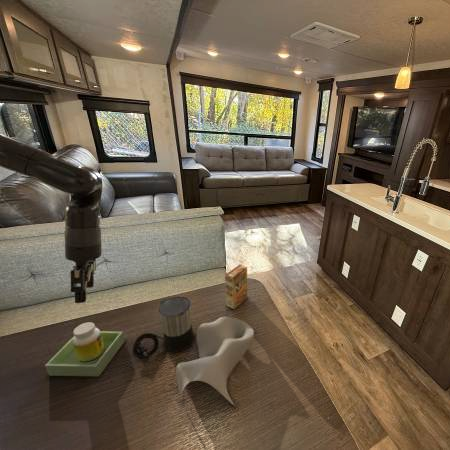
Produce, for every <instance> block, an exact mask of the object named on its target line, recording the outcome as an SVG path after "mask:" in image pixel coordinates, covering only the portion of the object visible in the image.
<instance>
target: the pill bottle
mask: <svg viewBox="0 0 450 450" xmlns="http://www.w3.org/2000/svg"><path fill="white" fill-rule="evenodd" d="M100 331H101V330H100V329H99V328H98V327H96V325H95V323H94V322H93V321H92V322H91V321H89V322H83V323H81V324H79V325H77V326H76V327H75V328H74V329H73V337H74V338H73V337H72V338H73V344H74V347H75V350H76V353H77V355H78V358H79V361H80V362H81V363H82V364H90V363H93V362H95V361H97V360H99V359H100V358H101V356H102V355H103V354H104V353H105V346H104V343H103V339H102V336H101V332H100Z"/></svg>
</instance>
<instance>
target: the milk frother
mask: <svg viewBox="0 0 450 450" xmlns="http://www.w3.org/2000/svg"><path fill="white" fill-rule="evenodd" d="M191 305H192V302H191V300H190V299H189V298H188V297H185V296H178V295H177V296H172V297H171V296H168V297H165V298H163V299H162V300H160V305H159V306H158V308H157V312H158V314H159V316H160V323H161V327H162V333H163V336H160V335H157V334H155V333H151V332H146V333H143V334H141V335H139V336H138V337H137V338H136V339H135V341H134V342H133V344H132V354H133V356H134V357H135V358H138V359H146V358H148V357H150V356H152V355H154V354H155V353H156V351H158V349H159V344H160V342H159V339H161V340H163V346H164V348H165V349H166V350H167V351H169V352H180V351H183V350H185V349H187V348H188V347H189V346H191V344H192V343H193V341H194V339H195V334H194V330H193V321H192V309H191ZM158 338H159V339H158ZM145 339H150V340H152V341H153V343H154V344H153V347H152V349H150V351H148V348H147V347H145V346H144V344H143V343H142V341H143V340H145Z"/></svg>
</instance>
